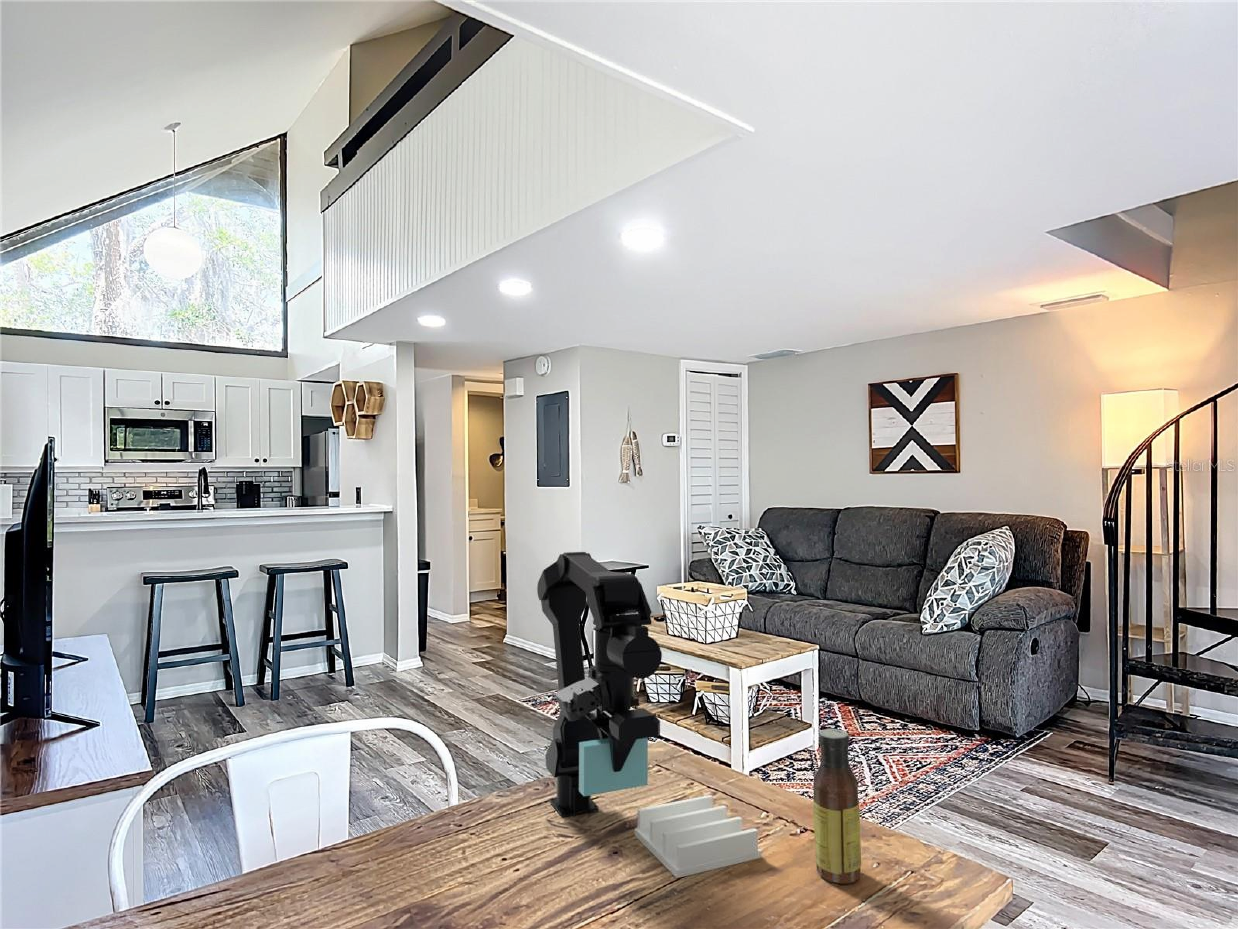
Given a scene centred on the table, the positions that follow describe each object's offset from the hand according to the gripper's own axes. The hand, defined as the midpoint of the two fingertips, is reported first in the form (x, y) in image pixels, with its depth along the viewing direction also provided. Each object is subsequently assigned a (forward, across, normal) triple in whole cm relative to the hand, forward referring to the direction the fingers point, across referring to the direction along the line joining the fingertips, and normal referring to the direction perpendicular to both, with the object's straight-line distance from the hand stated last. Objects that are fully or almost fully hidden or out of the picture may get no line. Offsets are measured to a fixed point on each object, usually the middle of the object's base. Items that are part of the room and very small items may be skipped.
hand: (613, 768), depth 112 cm
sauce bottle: (+13, +16, +27) cm, 34 cm away
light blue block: (+3, 0, 0) cm, 3 cm away
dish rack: (+13, +2, +13) cm, 18 cm away
